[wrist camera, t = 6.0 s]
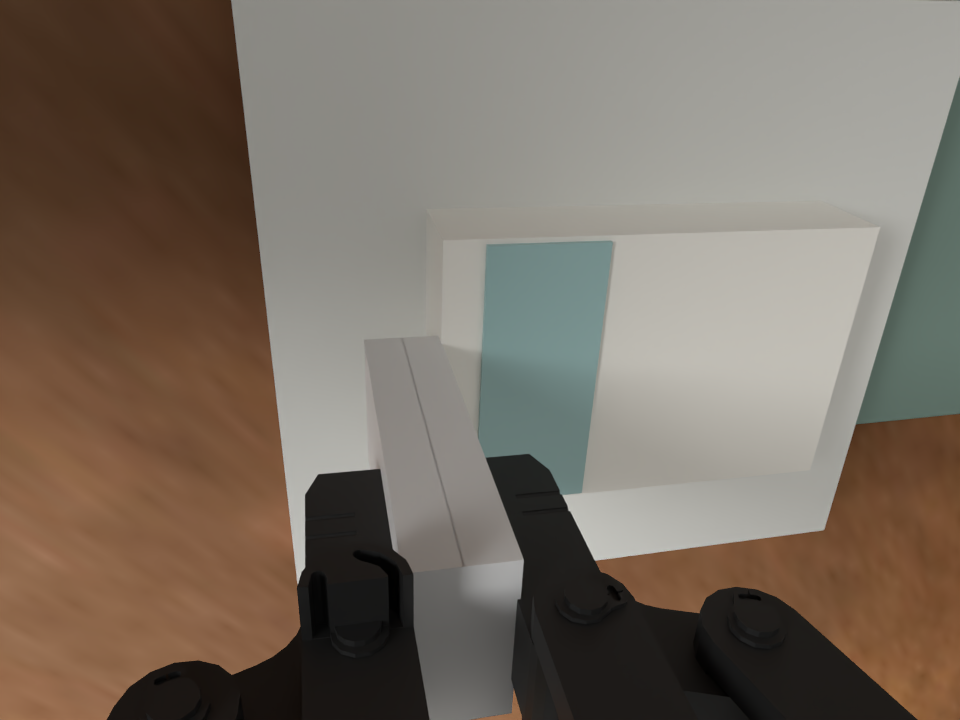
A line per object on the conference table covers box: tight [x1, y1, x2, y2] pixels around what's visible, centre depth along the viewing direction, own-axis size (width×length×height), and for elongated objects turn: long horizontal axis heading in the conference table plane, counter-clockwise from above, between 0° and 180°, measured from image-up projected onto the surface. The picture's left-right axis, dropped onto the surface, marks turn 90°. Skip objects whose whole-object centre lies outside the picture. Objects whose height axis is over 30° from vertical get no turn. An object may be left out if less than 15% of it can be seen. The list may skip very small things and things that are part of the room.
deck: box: [231, 0, 960, 583], centre depth 18 cm, size 14×15×2 cm
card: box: [426, 201, 880, 496], centre depth 17 cm, size 6×9×2 cm, turn 88°
